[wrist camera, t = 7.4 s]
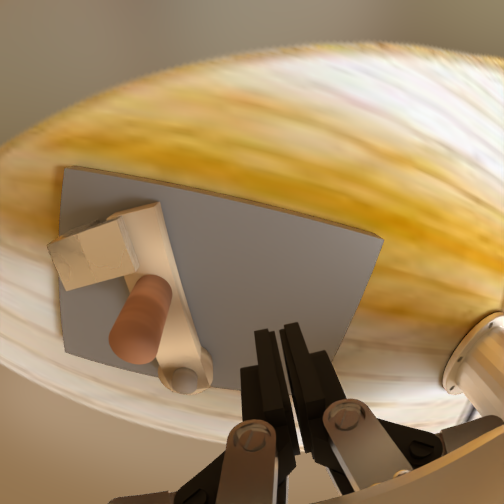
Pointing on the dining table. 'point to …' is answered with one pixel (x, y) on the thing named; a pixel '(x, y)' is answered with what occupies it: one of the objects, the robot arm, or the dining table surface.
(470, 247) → the dining table surface
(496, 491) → the robot arm
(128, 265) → the block
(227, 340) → the base board
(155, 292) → the ash link
